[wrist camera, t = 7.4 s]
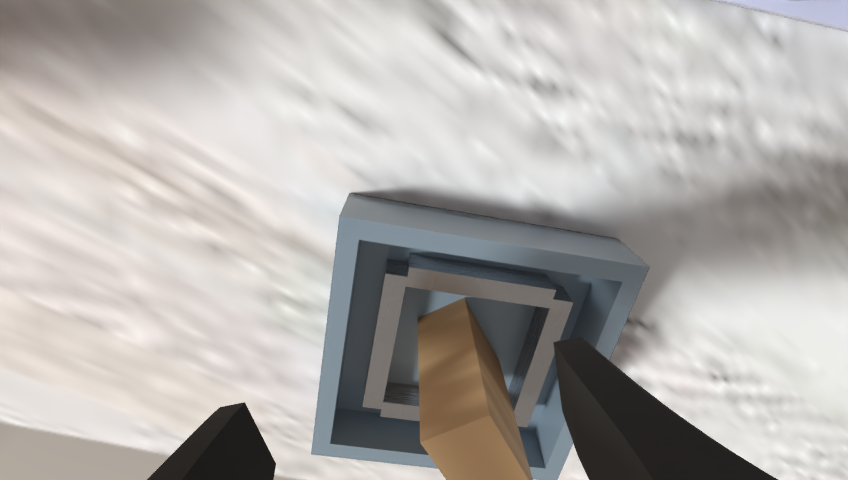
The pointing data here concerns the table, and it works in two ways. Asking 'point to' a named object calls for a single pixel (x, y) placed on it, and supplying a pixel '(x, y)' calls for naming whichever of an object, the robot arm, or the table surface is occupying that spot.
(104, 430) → the table surface
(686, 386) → the table surface
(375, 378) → the grey square frame
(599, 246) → the blue-grey square tray
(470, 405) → the block
